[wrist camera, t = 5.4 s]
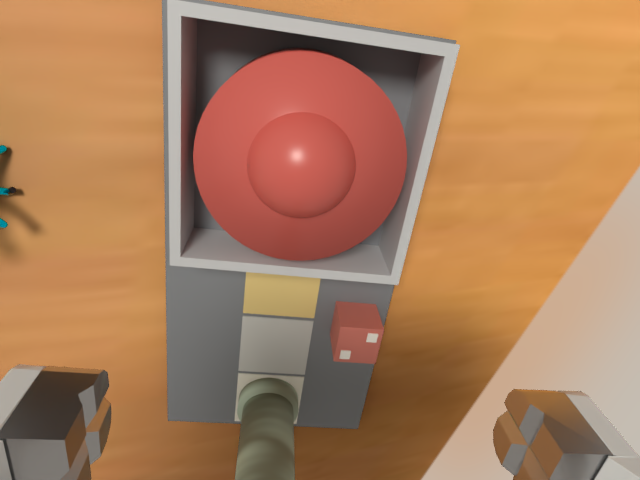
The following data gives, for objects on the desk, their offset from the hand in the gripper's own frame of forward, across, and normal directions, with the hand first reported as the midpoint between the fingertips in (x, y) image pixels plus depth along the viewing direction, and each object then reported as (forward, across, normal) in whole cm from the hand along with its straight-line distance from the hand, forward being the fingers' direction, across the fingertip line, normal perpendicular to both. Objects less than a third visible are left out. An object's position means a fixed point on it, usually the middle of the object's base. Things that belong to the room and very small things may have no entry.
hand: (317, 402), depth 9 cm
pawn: (+20, 0, -21) cm, 29 cm away
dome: (+19, 0, 0) cm, 20 cm away
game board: (+21, 0, -8) cm, 23 cm away
